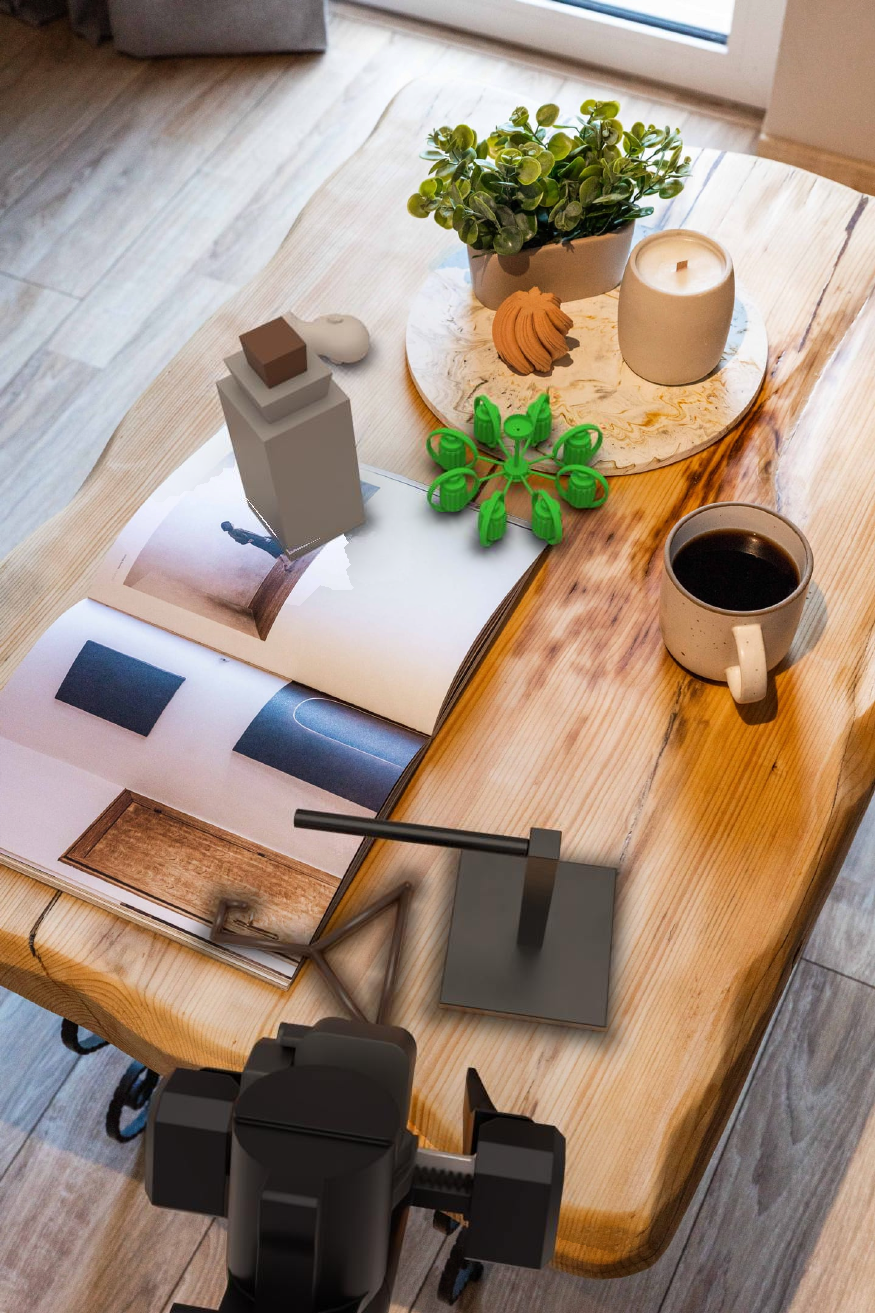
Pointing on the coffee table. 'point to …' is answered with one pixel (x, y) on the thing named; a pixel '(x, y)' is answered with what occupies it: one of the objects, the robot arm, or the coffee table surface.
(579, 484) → the chandelier
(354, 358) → the beige rounded piece
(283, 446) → the perfume bottle
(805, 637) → the coffee table surface
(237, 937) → the hanger
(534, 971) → the hook stand
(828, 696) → the coffee table surface
